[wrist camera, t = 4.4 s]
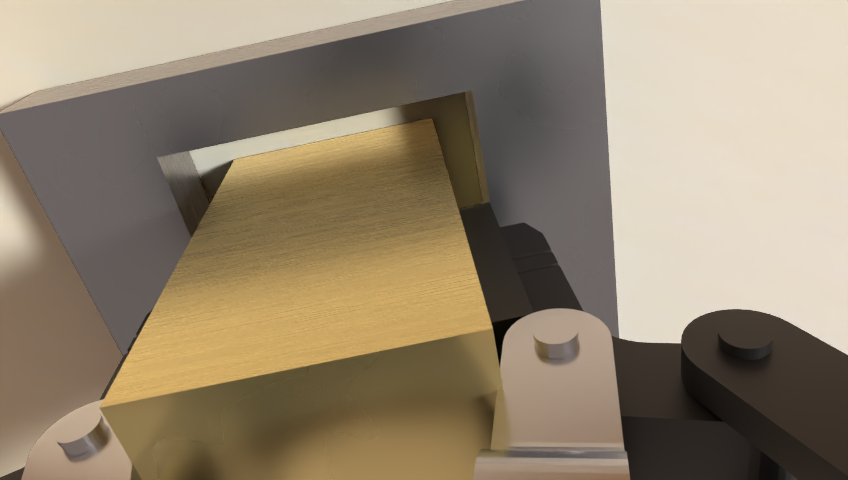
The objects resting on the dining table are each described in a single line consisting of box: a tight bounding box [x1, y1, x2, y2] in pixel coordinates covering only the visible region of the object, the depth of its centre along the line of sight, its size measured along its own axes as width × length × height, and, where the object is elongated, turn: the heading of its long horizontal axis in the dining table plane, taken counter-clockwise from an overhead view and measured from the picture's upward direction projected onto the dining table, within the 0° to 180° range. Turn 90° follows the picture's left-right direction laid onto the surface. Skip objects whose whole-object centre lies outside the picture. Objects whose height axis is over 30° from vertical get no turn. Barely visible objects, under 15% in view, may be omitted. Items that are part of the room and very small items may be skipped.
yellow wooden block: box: [99, 118, 503, 480], centre depth 10 cm, size 4×4×7 cm
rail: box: [0, 0, 619, 357], centre depth 16 cm, size 22×10×2 cm, turn 11°
